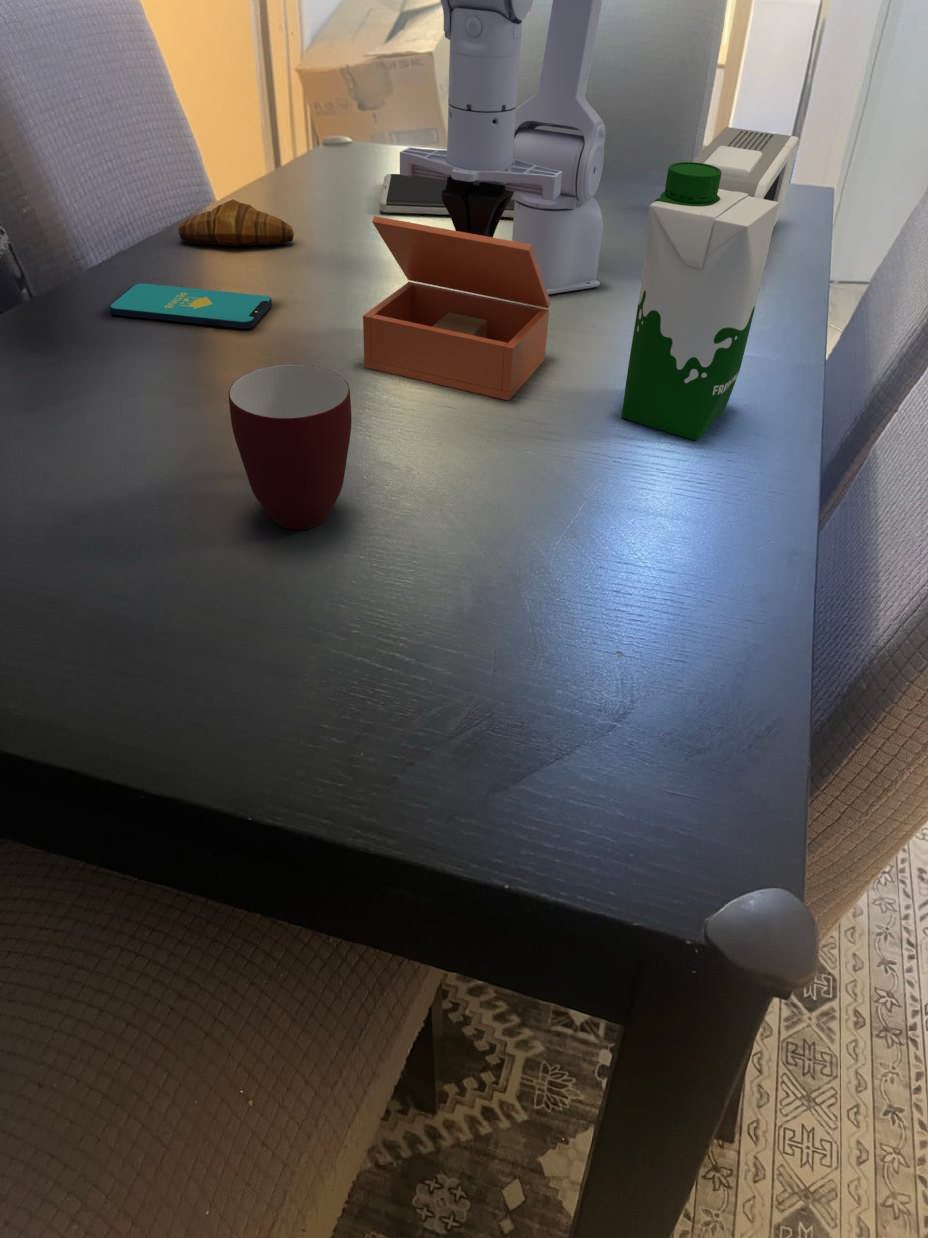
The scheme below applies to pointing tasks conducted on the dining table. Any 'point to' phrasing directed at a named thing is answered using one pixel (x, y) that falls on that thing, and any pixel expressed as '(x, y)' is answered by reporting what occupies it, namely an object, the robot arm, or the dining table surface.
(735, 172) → the alarm clock
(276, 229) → the croissant
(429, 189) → the tablet
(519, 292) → the case cover
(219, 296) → the smartphone
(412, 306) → the case
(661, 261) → the milk carton
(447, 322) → the block
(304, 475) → the mug
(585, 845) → the dining table surface
